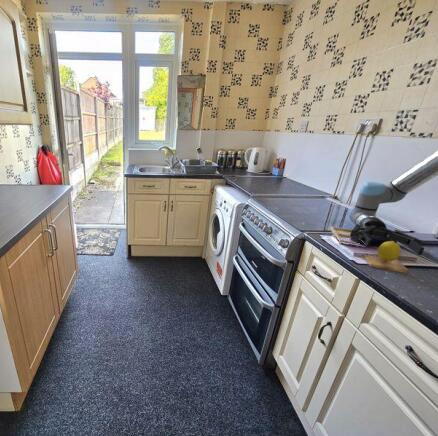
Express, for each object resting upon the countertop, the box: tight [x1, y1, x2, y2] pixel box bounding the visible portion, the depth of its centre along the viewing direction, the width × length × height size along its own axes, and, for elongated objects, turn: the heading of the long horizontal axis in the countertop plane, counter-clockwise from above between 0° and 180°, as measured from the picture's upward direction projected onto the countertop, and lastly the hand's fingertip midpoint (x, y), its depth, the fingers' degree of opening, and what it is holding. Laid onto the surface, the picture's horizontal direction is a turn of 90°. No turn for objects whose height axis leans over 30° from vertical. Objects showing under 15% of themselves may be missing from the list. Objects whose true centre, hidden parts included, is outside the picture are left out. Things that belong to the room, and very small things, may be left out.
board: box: [364, 256, 410, 274], centre depth 87 cm, size 10×8×1 cm
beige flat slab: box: [329, 225, 360, 245], centre depth 107 cm, size 9×17×1 cm, turn 156°
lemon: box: [377, 240, 402, 262], centre depth 85 cm, size 6×6×8 cm
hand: (394, 247), depth 83 cm, fingers open, 13 cm apart
